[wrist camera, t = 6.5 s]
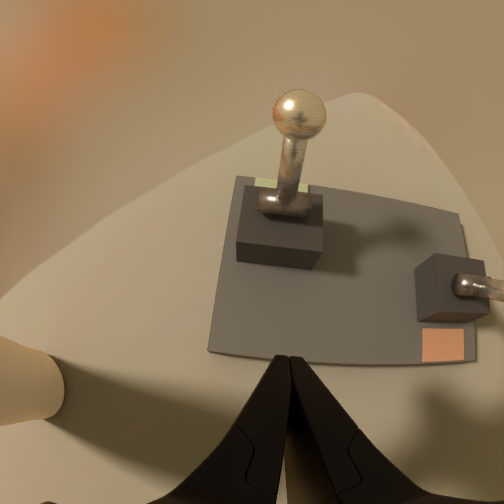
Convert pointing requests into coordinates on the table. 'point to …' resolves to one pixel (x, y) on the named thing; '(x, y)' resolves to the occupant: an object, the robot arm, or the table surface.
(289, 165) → the metallic ball-topped lever
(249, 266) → the switch board
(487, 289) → the silver lever handle
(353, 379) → the table surface
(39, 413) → the beige cylinder
